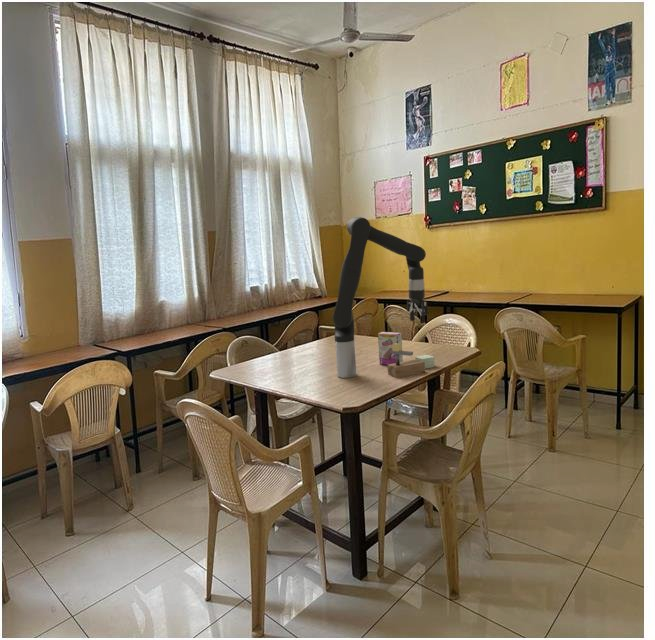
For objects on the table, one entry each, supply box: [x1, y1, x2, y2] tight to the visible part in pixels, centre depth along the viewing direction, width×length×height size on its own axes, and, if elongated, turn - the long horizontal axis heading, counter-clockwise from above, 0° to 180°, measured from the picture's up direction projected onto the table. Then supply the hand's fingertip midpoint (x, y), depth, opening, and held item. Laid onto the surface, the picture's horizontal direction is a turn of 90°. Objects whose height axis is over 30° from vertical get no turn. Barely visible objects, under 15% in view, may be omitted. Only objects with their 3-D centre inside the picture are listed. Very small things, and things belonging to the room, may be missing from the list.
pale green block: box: [414, 354, 436, 369], centre depth 249 cm, size 6×7×5 cm
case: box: [387, 358, 426, 379], centre depth 239 cm, size 7×16×5 cm, turn 114°
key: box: [390, 343, 414, 365], centre depth 234 cm, size 2×11×10 cm, turn 48°
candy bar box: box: [377, 331, 404, 366], centre depth 256 cm, size 11×5×16 cm, turn 56°
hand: (417, 321), depth 246 cm, fingers open, 8 cm apart
